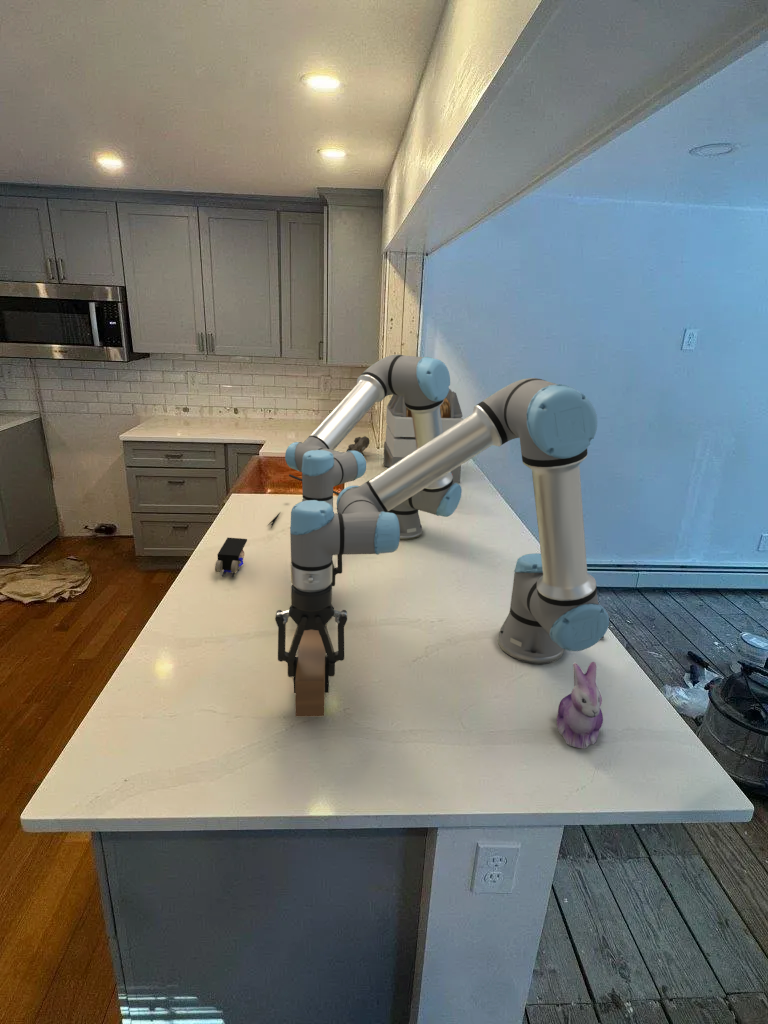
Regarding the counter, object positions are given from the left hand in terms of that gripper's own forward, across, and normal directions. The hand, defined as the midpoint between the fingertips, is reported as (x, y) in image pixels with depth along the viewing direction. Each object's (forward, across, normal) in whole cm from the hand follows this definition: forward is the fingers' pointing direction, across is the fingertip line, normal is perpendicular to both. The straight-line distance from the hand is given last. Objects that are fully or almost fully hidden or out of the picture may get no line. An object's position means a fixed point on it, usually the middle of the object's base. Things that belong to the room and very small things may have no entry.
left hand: (317, 596), depth 148 cm
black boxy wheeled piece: (+3, -26, +22) cm, 34 cm away
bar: (0, 0, -19) cm, 19 cm away
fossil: (+3, +16, +161) cm, 162 cm away
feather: (+3, -16, +68) cm, 70 cm away
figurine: (+3, +51, -49) cm, 71 cm away
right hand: (0, 0, -38) cm, 38 cm away
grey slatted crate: (+3, +45, +130) cm, 138 cm away
